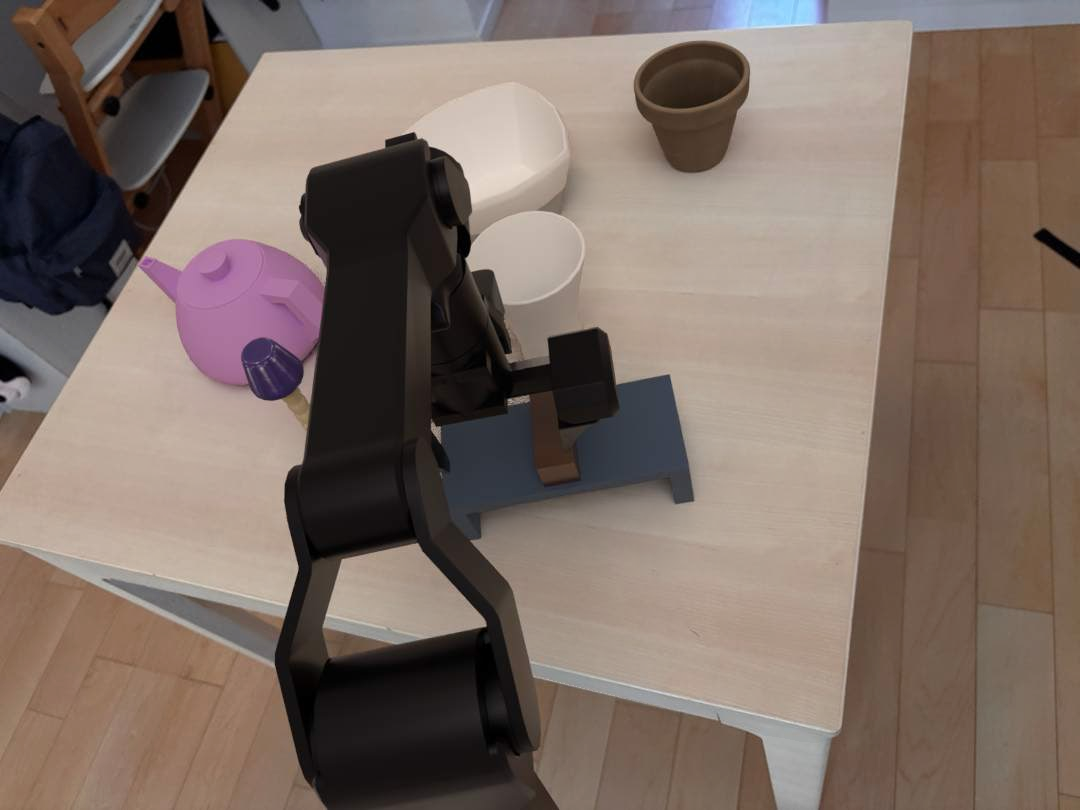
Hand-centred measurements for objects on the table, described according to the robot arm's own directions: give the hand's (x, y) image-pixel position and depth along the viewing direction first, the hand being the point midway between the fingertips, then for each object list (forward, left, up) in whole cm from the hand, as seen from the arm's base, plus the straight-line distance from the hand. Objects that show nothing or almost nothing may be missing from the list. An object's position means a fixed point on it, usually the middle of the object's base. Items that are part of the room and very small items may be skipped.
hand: (506, 457), depth 65 cm
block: (+4, -3, -6) cm, 7 cm away
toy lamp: (+11, +19, -12) cm, 25 cm away
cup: (+18, -3, -12) cm, 22 cm away
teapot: (+28, +28, -12) cm, 41 cm away
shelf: (+4, -3, -12) cm, 13 cm away
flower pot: (+41, -21, -12) cm, 48 cm away
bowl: (+39, +1, -12) cm, 41 cm away
